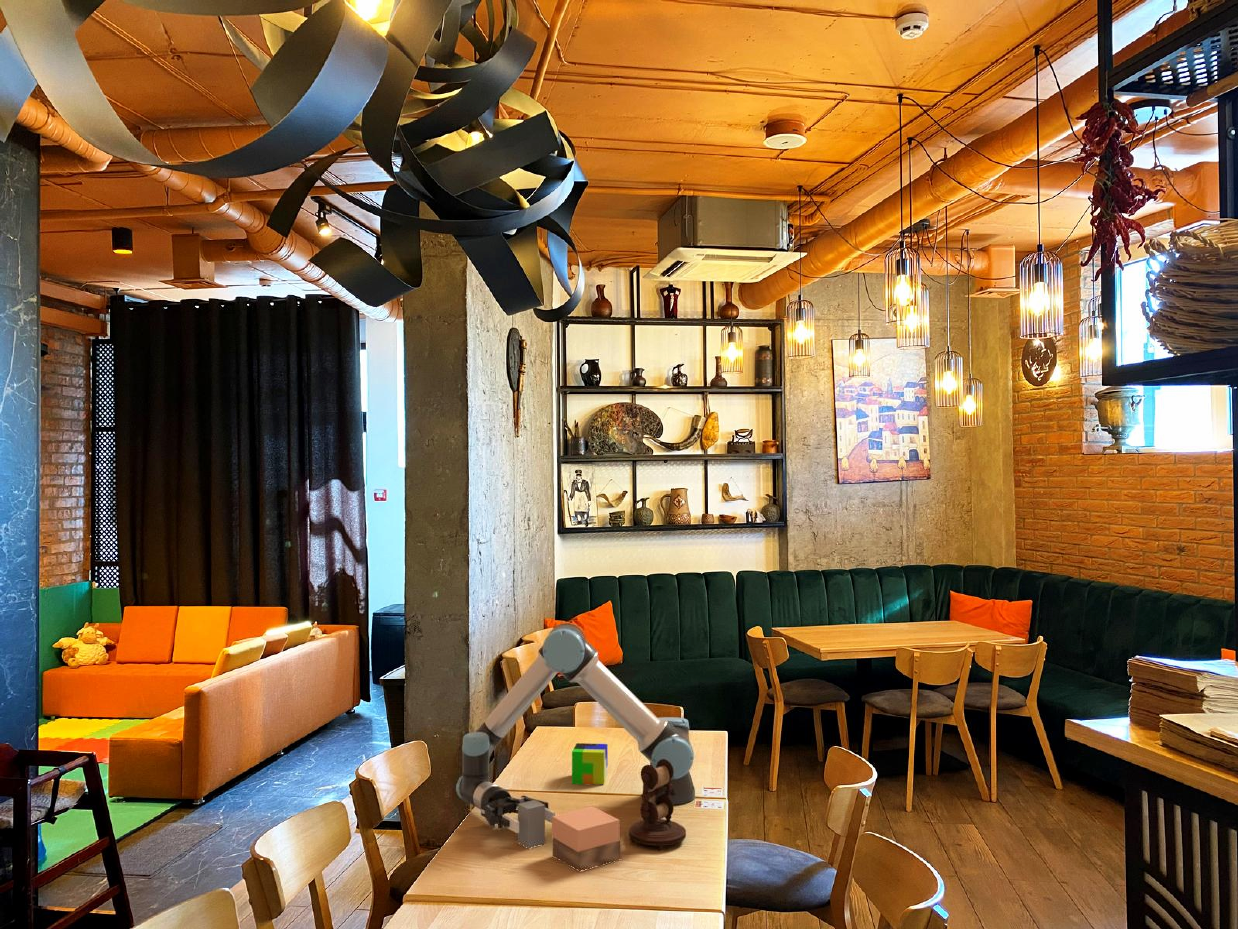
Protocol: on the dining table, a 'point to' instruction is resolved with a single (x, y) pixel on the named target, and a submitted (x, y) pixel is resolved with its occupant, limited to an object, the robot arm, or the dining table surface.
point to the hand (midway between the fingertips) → (536, 822)
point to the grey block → (531, 823)
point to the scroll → (657, 809)
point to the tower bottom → (587, 855)
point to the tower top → (585, 828)
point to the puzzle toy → (589, 763)
